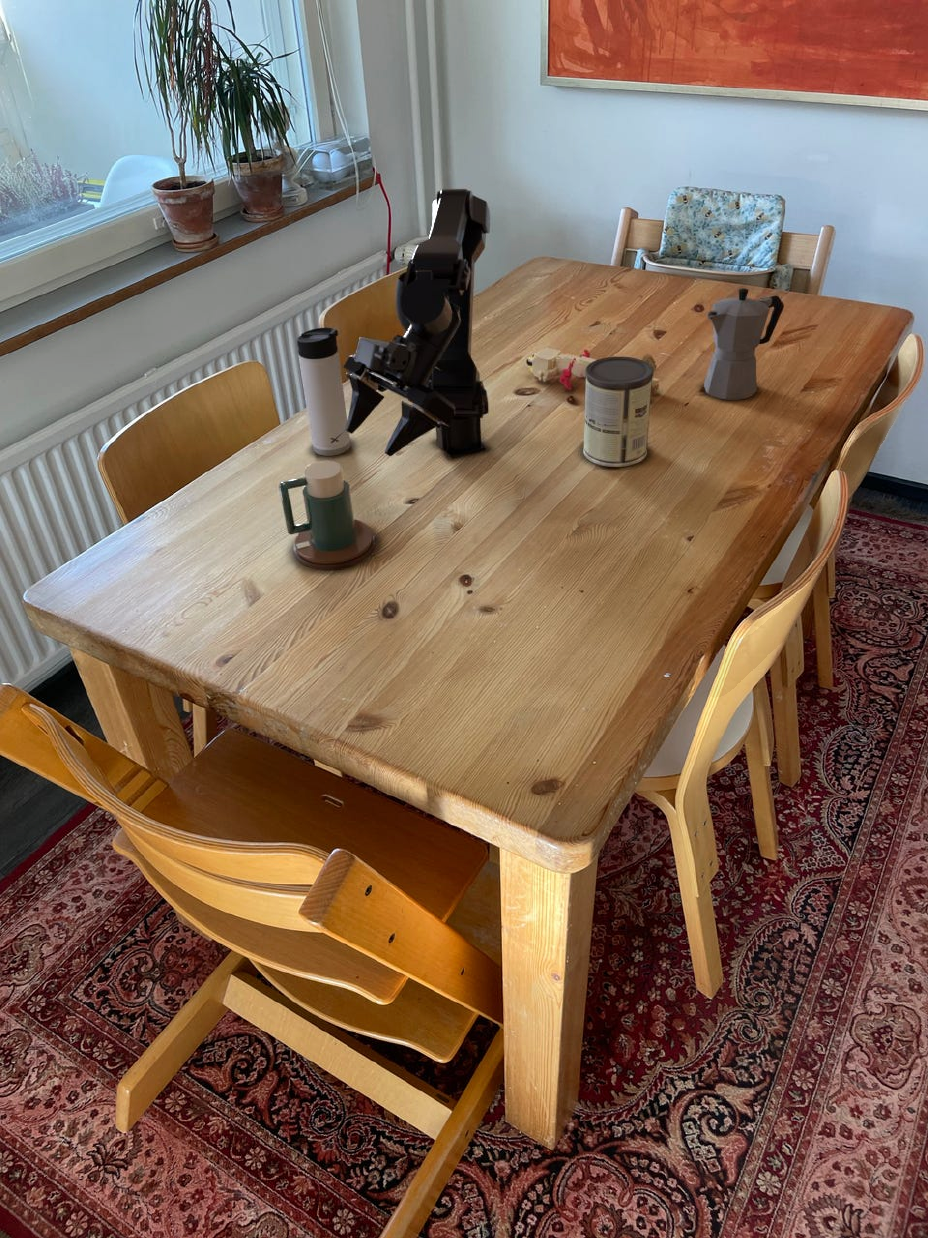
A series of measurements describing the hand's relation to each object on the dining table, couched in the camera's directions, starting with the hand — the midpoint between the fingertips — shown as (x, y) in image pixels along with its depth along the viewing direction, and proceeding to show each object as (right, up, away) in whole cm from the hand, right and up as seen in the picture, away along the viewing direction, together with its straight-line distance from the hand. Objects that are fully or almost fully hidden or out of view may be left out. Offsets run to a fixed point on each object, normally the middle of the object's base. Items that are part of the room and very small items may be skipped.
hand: (367, 443), depth 129 cm
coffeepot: (+62, +17, +39) cm, 75 cm away
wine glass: (+7, +20, +47) cm, 51 cm away
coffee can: (+38, +3, +23) cm, 44 cm away
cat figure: (+36, +18, +43) cm, 59 cm away
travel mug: (-9, +4, +29) cm, 30 cm away
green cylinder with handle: (-5, -14, +5) cm, 15 cm away
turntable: (-5, -14, +5) cm, 15 cm away
